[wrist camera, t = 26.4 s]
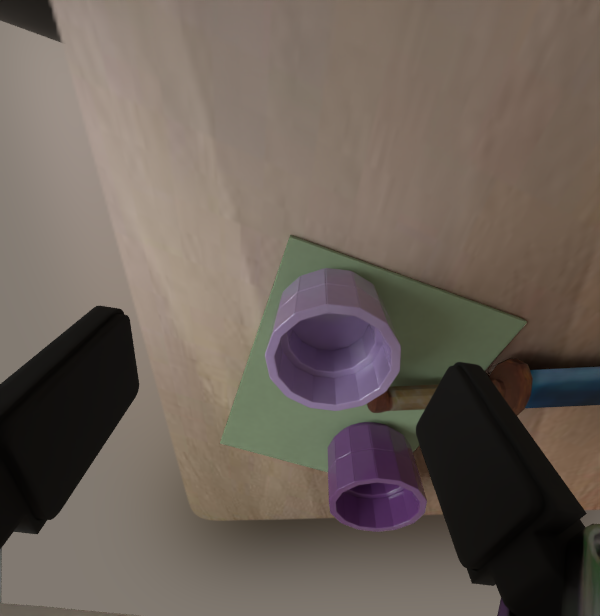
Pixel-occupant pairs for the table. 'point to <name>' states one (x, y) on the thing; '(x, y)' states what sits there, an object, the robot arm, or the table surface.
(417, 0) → the table surface
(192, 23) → the table surface
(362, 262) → the placemat
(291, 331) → the lilac dish
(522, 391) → the knife
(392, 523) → the plum dish
